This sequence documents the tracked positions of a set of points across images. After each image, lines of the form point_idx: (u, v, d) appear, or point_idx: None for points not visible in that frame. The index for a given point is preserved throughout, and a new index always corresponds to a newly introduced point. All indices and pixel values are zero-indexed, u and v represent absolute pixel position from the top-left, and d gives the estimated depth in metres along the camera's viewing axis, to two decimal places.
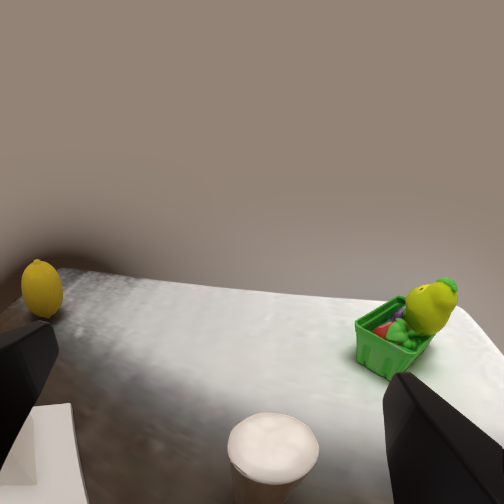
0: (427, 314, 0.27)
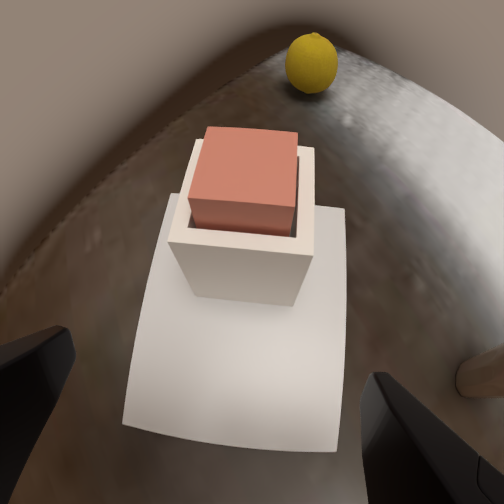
0: None
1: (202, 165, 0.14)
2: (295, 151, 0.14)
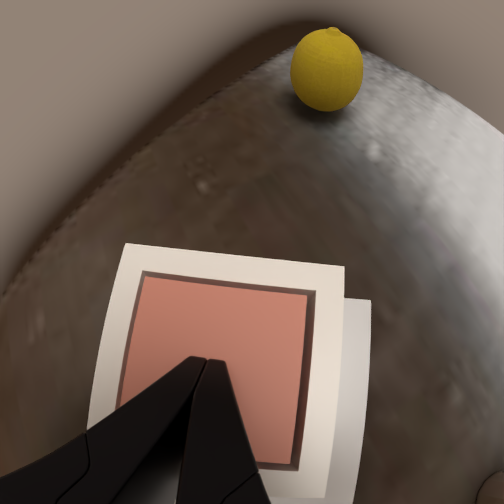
0: None
1: (135, 371, 0.07)
2: (300, 344, 0.08)
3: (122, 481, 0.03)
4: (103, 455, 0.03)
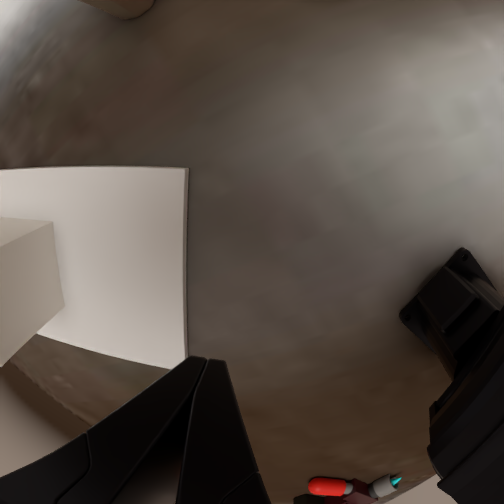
0: None
1: None
2: None
3: (122, 481, 0.03)
4: (103, 455, 0.03)
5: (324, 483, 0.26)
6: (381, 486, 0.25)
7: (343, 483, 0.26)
